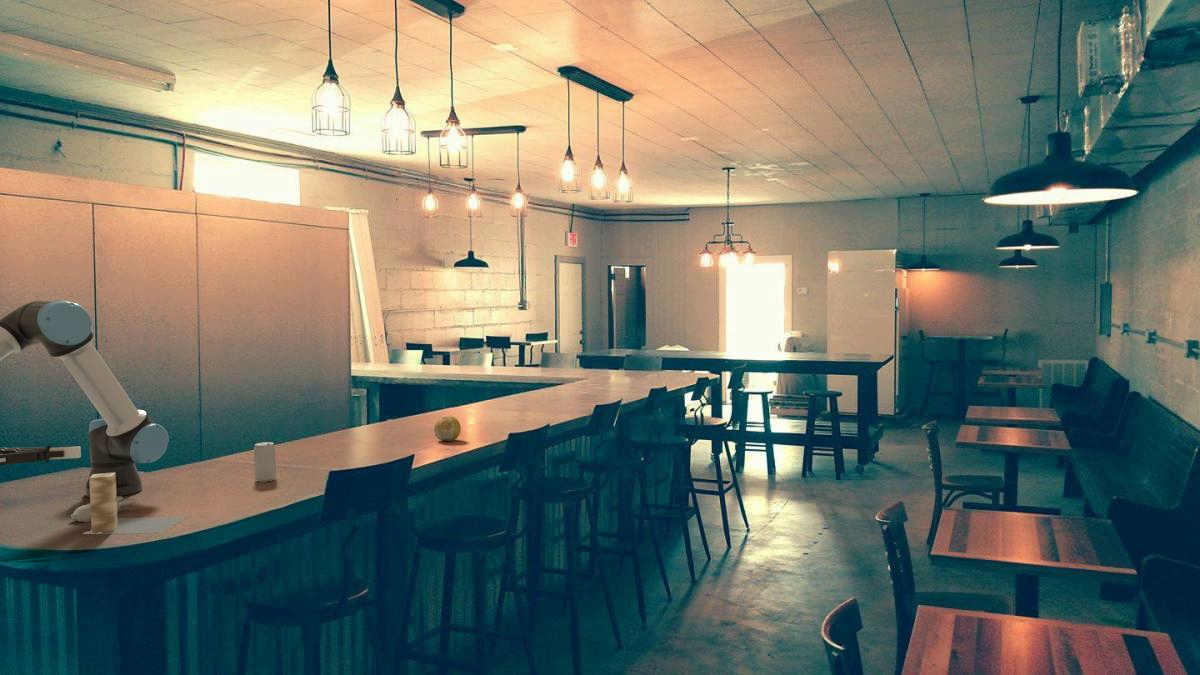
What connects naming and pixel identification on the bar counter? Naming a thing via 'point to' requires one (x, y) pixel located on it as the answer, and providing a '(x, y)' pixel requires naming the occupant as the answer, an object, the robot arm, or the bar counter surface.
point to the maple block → (103, 502)
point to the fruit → (447, 428)
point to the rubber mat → (145, 525)
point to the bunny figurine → (85, 511)
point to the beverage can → (264, 462)
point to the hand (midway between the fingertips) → (80, 452)
